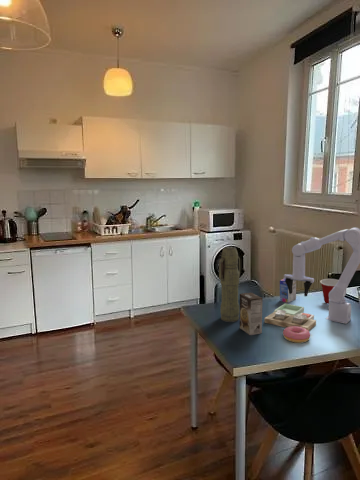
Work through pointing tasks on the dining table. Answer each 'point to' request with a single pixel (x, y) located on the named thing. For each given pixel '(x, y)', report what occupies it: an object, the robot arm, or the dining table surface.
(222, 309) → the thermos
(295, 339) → the doughnut
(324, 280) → the plastic cup
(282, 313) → the billet
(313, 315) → the button housing
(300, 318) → the block
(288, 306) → the tote
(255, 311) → the coffee box
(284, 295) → the ink cartridge box
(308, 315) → the button
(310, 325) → the tan open frame
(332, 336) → the dining table surface
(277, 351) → the dining table surface
